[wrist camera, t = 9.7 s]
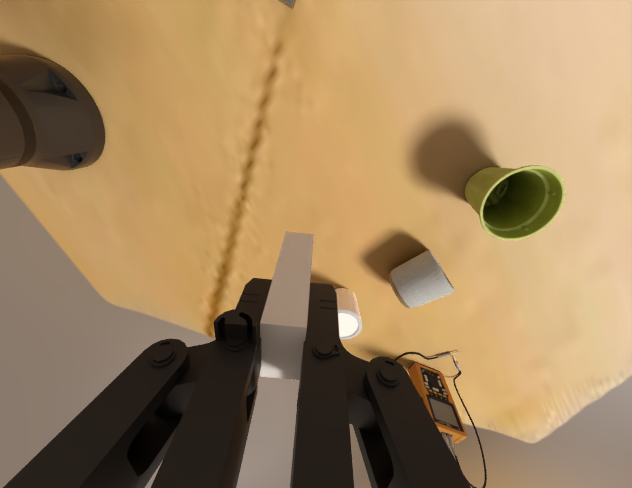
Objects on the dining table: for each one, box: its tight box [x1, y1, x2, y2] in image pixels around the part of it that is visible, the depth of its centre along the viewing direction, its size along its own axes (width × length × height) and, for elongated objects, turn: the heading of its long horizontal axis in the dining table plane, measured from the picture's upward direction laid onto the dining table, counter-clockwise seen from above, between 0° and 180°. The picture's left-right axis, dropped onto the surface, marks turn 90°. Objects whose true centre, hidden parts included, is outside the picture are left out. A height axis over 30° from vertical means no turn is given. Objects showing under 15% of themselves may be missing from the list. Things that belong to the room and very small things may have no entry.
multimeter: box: [395, 352, 487, 488], centre depth 47 cm, size 15×10×20 cm
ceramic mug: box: [389, 250, 455, 308], centre depth 44 cm, size 11×8×8 cm
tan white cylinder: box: [335, 288, 363, 340], centre depth 48 cm, size 7×7×7 cm
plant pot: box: [465, 165, 566, 240], centre depth 35 cm, size 9×9×9 cm
